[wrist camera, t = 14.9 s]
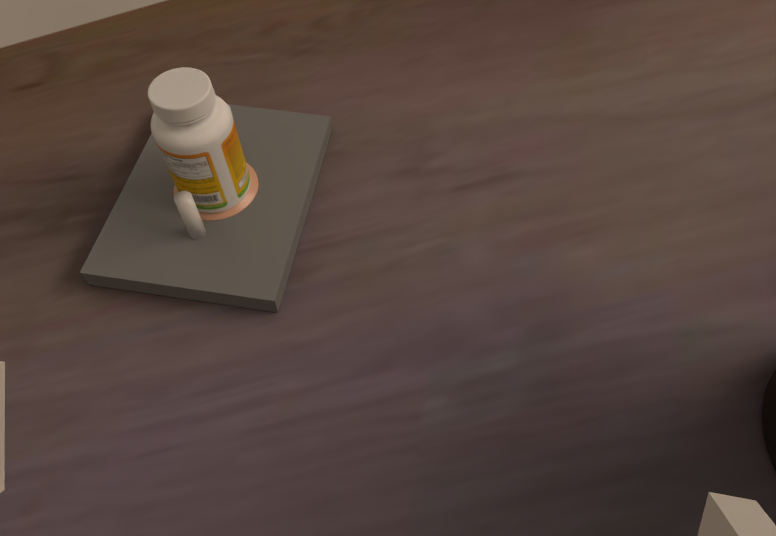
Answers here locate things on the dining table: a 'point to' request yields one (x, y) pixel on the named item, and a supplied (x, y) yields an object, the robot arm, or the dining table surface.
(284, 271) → the pin tray
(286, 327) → the dining table surface
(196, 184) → the supplement bottle
